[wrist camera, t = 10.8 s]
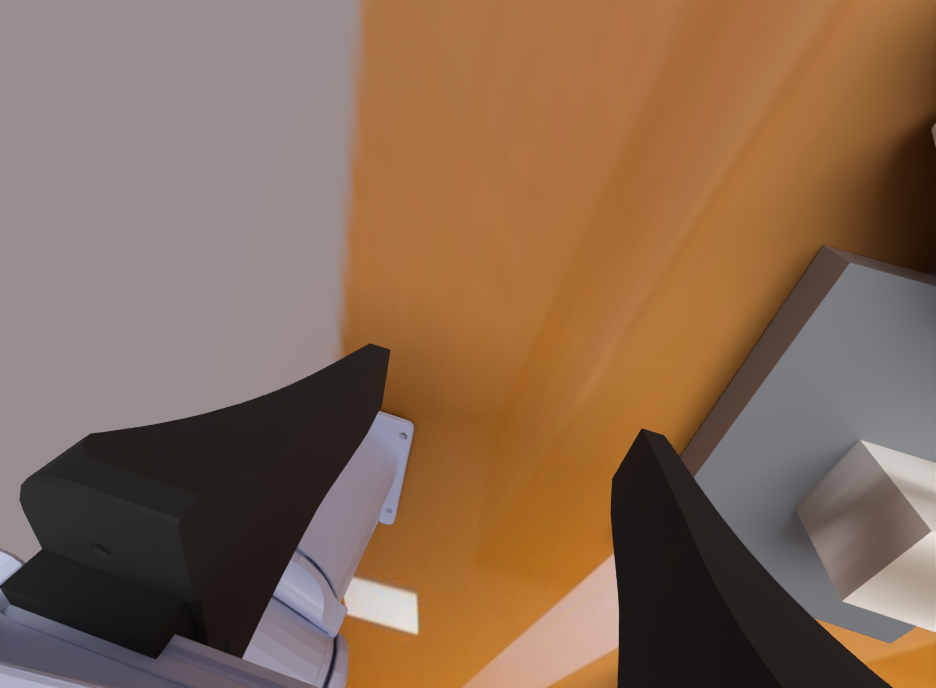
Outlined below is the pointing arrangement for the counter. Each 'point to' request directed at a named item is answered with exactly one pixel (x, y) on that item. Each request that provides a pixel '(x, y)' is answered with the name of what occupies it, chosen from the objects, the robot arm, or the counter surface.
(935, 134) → the cable organizer
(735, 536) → the robot arm
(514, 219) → the counter surface
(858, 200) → the counter surface
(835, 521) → the ash cube
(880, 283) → the base plate
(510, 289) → the counter surface
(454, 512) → the counter surface
